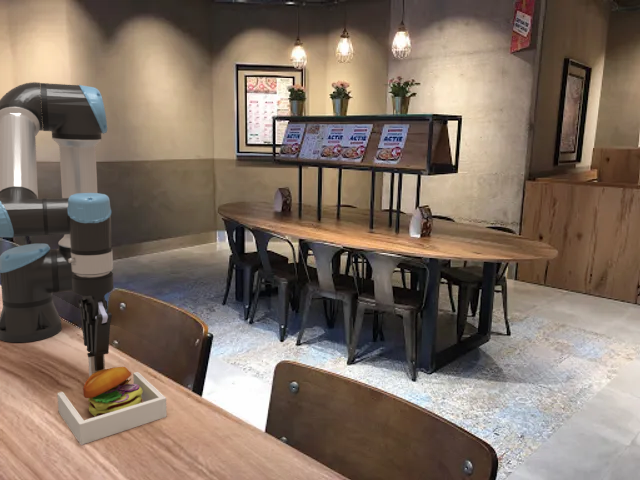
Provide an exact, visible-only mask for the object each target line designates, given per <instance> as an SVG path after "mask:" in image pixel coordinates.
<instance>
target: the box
mask: <svg viewBox="0 0 640 480" xmlns="http://www.w3.org/2000/svg"><path fill="white" fill-rule="evenodd" d="M132 376H133V377H132V379H133V381H132V382H133V384H137V385H139V387H141V388H142V390H143V392H142V394H141V397H142V403H139V404H136V405H133V406H129V407H126V408H123V409H120V410H116V411H113V412H110V413H106V414H103V415H100V416H97V417H95V416H94V417H90V418H87V419H85V420H84V418H83V417H82V416H81V414H80V413H79V412H78V410H77V409H76V408H75V407H74V405H73V404H72V402H71V401H70V400H69V398H68V396H66V394H65V393H64V392H63V391H60V392H57V409H58V413H59V415H60V416H61V418H62V420H63V421H64V423H65V424H66V425H67V427H68V428H69V430H70V431H71V433H72V434H73V435H74V437H75V439H76V440H77V442H78V444H79V445H80V446H82V445H85V444H86V445H87V444H88V443H91V442H95V441H97V440H101V439H103V438H107V437H109V436H113V435H115V434H119V433H121V432H122V433H123V432H125V431H127V430H128V431H129V430H130V429H134V428H136V427H139V426H143V425H146V424H149V423H151V422H155V421H159V420H160V419H164V418H167V397H166V396H165V395H164V394H162V393H161V392H160V390H158V389H157V388H156V387H155V386H154V385H153V384H152V383H151V382H149V381H148V380H147V378H145V376H143V375H142V374H141V373H140V372H139V371H135V372H133V374H132Z"/></svg>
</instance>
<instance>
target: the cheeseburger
mask: <svg viewBox="0 0 640 480" xmlns="http://www.w3.org/2000/svg"><path fill="white" fill-rule="evenodd" d="M131 376H132V372H131V371H130V370H129V368H127V367H126V366H115V367H110V368H105V369H104V370H100V371H97V372H95V373H93V374H92V375H91V376H90V377H89V376H88V378H87V380H86V381H85V383H84V384H83V388H82V389H83V390H82V392H83V397H84V398H85V399H88V401H87V402H88V403H89V405H88V410H89V413H90V414H91V415H92V416H94V417H97V416H100V415H103V414H106V413H110V412H113V411H116V410H120V409H123V408H126V407H129V406H133V405H136V404H139V403H143V399H142V397H141V394H142V392H143V390H142V388H141V387H139V385H137V384H134V383H130V382H131V380H132V378H130V377H131ZM129 378H130V379H129Z"/></svg>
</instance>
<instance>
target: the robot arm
mask: <svg viewBox="0 0 640 480" xmlns="http://www.w3.org/2000/svg"><path fill="white" fill-rule="evenodd" d="M105 108H106V107H105V104H104V99H103V97H102V94H101V92H100V90H99V89H98V88H97V87H94V86H88V85H82V84H77V85H76V84H65V83H64V84H63V83H48V82H47V83H46V82H45V83H44V82H36V81H33V82H32V81H31V82H26V83H23V84H20V85H17V86H15V87H14V88H12V89H10V90H9V91H7V92H6V93H5V94H4V95H3V96H2V97H1V98H0V238H11V239H12V238H20V237H33V236H34V237H35V236H37V237H38V236H61V235H62V236H63V237H62V238H61V239H59V241H58V248H54V249H53V248H51V247H50V245H49V244H48V243H43V242H42V243H29V244H23V245H19V246H15V247H11V248H9V249H7V250H5V251H3V252H2V253H1V254H0V285H1V299H2V310H1V313H0V340H1V341H2V342H7V343H30V342H36V341H40V340H44V339H48V338H51V337H53V336H55V335H57V334H58V333H60V332H61V330H62V328H63V327H62V319H61V317H60V315H59V312H58V311H57V308H56V306H55V303H54V299H53V294H56V293H64V292H66V293H67V292H72V293H73V294H75V295H77V296H81V297H82V298H78V299H77V305H78V307H79V313H80V320H81V321H80V323H81V329H82V337H83V345H84V347H86V351H87V357H88V358H87V359H88V378H89V377H90V376H91V375H92V374H93V373H95V372H97V371H100V370H104V369H106V363H105V362H106V360H105V357H106V356H105V355H108V354H109V352H110V351H109V350H110V349H109V347H110V332H111V331H110V329H111V321H112V316H113V314H112V312H107V310H108V301H107V300H106V297H105V296H106V295H107V294H108V293H110V292H112V291H113V290H114V273H113V272H112V270H113V269H114V259H113V258H114V257H113V253H114V252H113V249H112V217H111V216H112V208H111V202H110V197H109V195H107V194H105V193H101V192H99V193H98V175H97V173H98V171H97V152H96V147H97V145H98V144H99V143H100V142H101V141H102V134H103V135H105V134H106V133H107V132H108V121H107V115H106V110H105ZM41 131H43V132H51V139H52V140H53V141H54V142H55V144H57V145H58V148H59V164H60V167H59V168H60V178H61V179H60V182H61V185H60V186H61V198H60V197H59V198H58V197H57V198H56V197H54V198H50V197H49V198H47V197H45V198H43V197H42V198H39V193H38V192H39V191H38V190H39V189H38V188H39V187H38V167H37V166H38V165H37V164H38V163H37V145H36V144H37V141H36V139H37V137H36V136H37V135H38V133H40V132H41Z"/></svg>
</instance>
